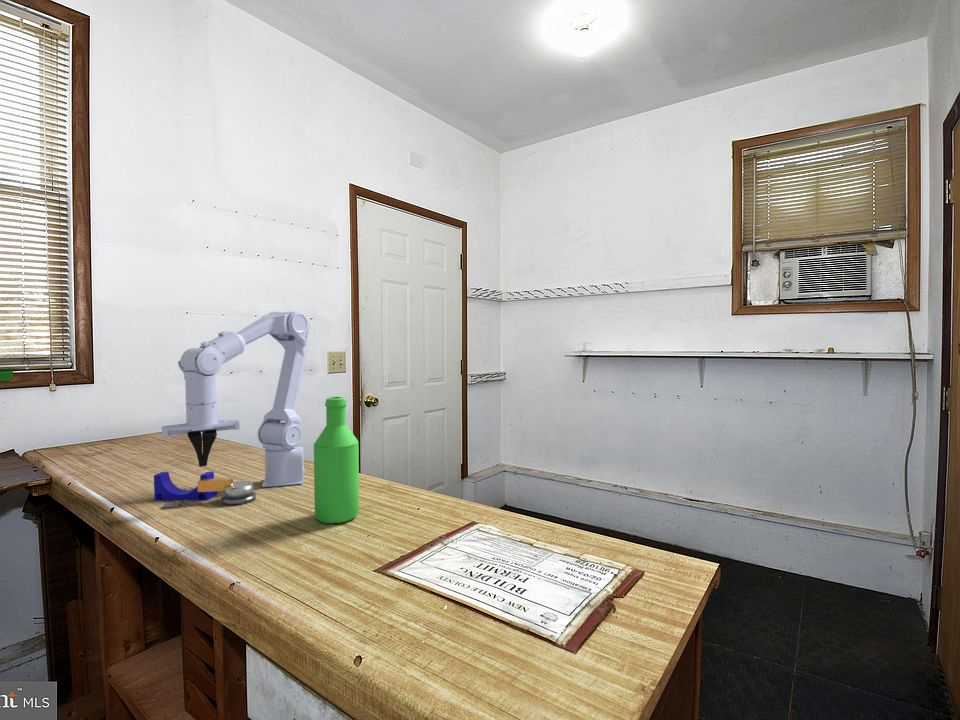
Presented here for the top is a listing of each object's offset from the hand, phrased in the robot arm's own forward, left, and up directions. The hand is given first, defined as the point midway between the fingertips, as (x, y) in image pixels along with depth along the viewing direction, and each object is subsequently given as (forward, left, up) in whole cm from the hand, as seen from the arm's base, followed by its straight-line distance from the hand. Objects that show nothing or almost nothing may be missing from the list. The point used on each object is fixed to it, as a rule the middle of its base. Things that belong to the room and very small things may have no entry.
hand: (202, 465), depth 105 cm
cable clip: (+5, -9, -10) cm, 15 cm away
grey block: (+7, -3, -9) cm, 12 cm away
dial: (-4, -4, -8) cm, 10 cm away
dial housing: (-7, -3, -9) cm, 12 cm away
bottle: (-28, +15, -10) cm, 33 cm away
